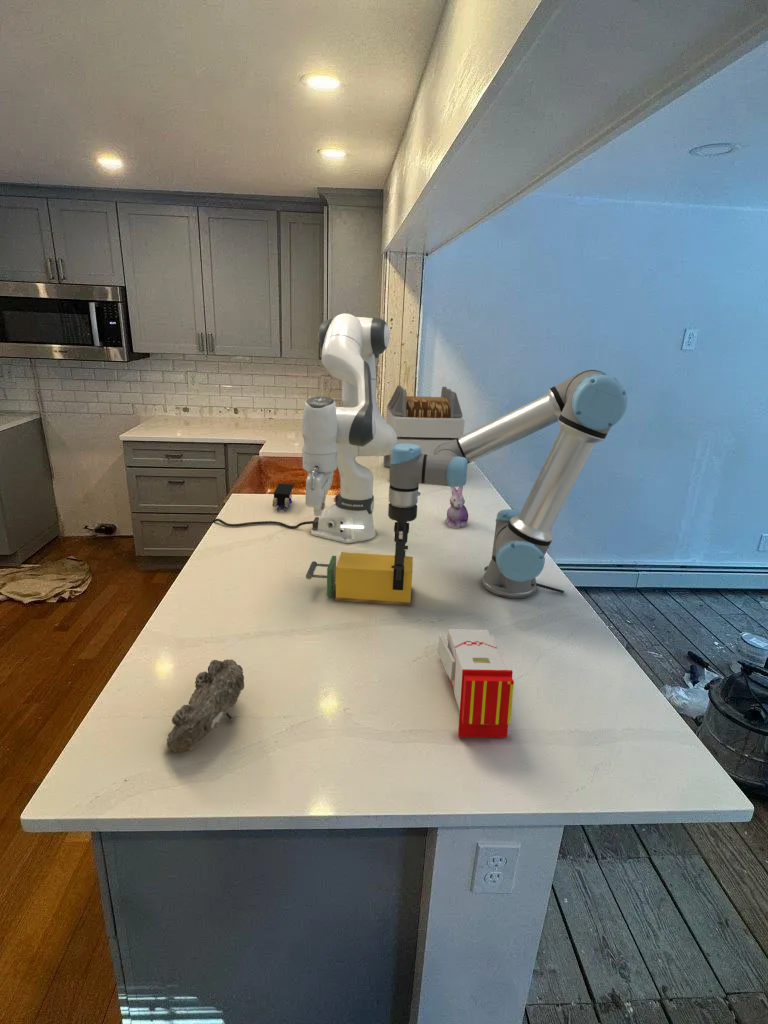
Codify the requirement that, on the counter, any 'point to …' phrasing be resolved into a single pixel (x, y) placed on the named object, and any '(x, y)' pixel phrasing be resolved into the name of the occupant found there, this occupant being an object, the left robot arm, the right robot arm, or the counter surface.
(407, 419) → the transformer
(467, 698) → the toy
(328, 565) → the drawer
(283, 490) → the figurine character
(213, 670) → the fossil
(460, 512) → the figurine
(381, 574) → the cabinet
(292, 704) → the counter surface
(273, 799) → the counter surface
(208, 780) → the counter surface
